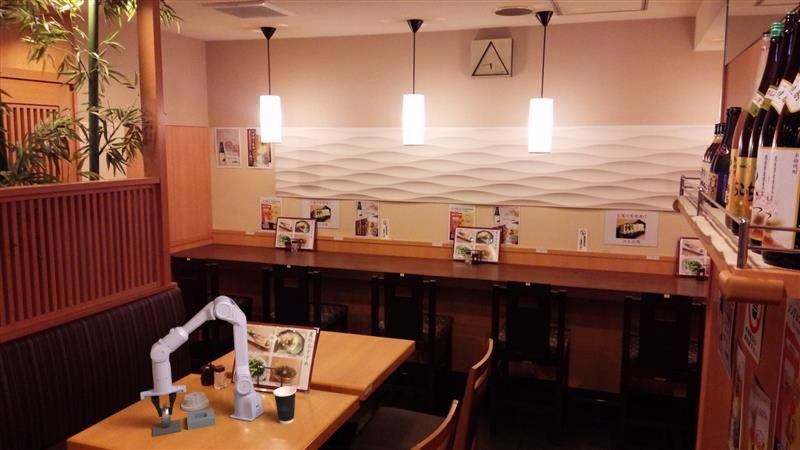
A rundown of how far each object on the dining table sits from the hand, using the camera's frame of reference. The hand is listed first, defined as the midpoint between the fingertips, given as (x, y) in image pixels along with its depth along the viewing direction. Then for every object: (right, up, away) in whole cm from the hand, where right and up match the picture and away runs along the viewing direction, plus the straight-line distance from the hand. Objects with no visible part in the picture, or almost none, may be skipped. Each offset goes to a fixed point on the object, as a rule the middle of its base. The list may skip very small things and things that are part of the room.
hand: (165, 414), depth 204 cm
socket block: (+11, -4, +5) cm, 12 cm away
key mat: (0, -5, +1) cm, 5 cm away
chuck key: (0, -3, 0) cm, 3 cm away
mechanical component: (+4, -3, +19) cm, 19 cm away
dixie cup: (+41, -3, +3) cm, 41 cm away
